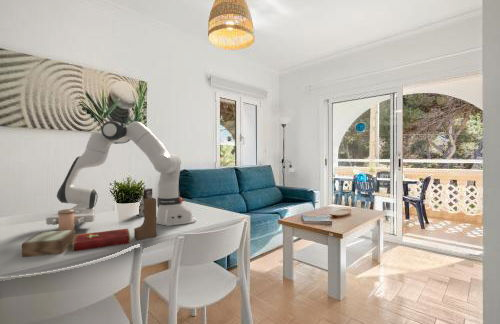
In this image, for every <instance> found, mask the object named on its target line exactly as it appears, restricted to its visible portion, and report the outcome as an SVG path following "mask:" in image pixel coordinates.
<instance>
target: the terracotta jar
mask: <svg viewBox="0 0 500 324" xmlns="http://www.w3.org/2000/svg"><path fill="white" fill-rule="evenodd" d="M57 214H58V217H59V224H58V231H65V230H75V225H74V209H71V208H67V209H65V208H64V209H61V210H57Z"/></svg>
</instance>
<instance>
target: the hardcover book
mask: <svg viewBox="0 0 500 324" xmlns="http://www.w3.org/2000/svg"><path fill="white" fill-rule="evenodd" d="M127 244H129V245H130V244H131V234H130V230H129V228H121V229H120V228H119V229H112V230H103V231H97V232H87V233H81V234H80V233H78V234H75V238H74V240H73V244H72V252H73V253H74V252H79V251H80V252H81V251H87V250H93V249H100V248H101V249H102V248H107V247H114V246H115V247H116V246H121V245H127Z"/></svg>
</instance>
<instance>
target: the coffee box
mask: <svg viewBox="0 0 500 324" xmlns="http://www.w3.org/2000/svg"><path fill="white" fill-rule="evenodd" d="M143 189H144V195H143V197H142V200H141V202H140V206H139V217H144V199H145V198H153V188H143Z"/></svg>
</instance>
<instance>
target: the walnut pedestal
mask: <svg viewBox="0 0 500 324" xmlns="http://www.w3.org/2000/svg"><path fill="white" fill-rule="evenodd" d="M75 235H76V229H74V230H65V231H59V230H54V231H41V232H38V233H37V234H35V235H34V236H31V238H29V239H27V240H25V241H24V242H22V243H21V257H22V258H24V257H25V258H27V257H36V256H37V257H38V256H49V255H58V254H63V253H64V252H65V251H66V250H67V249H69V248H70V247H71V246H73V240H74V238H75Z"/></svg>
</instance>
